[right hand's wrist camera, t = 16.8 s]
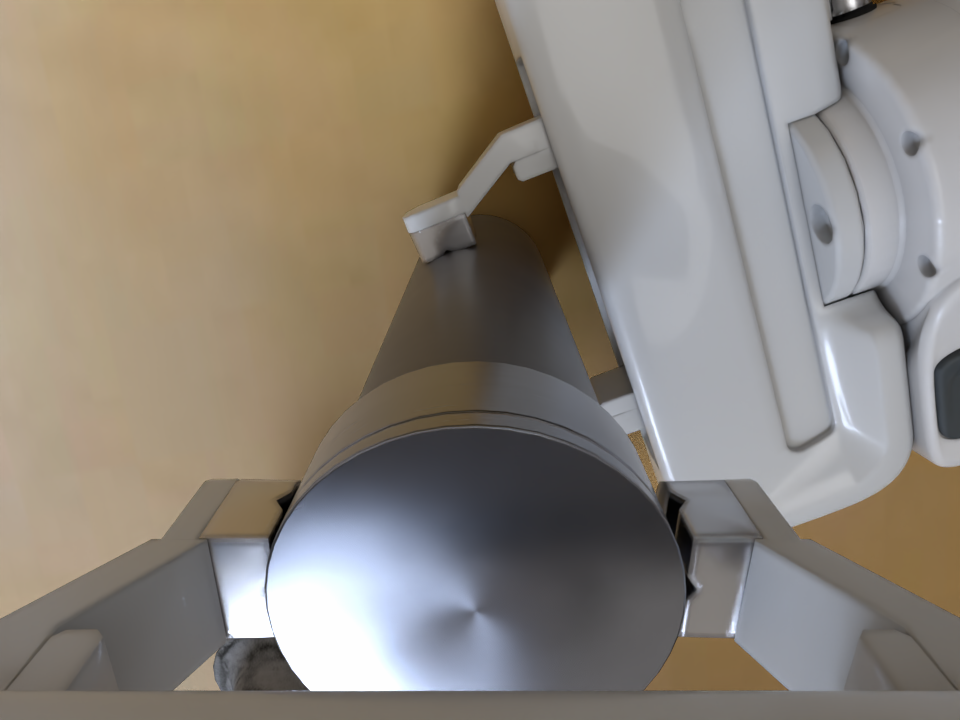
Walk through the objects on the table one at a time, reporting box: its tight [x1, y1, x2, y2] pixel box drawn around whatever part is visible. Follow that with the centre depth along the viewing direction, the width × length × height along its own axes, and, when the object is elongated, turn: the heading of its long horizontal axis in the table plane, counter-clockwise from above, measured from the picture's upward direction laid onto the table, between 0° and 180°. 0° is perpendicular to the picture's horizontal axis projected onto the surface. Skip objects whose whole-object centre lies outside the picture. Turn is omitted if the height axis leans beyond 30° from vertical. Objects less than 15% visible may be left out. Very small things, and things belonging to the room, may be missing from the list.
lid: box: [265, 361, 686, 691], centre depth 9 cm, size 6×6×2 cm
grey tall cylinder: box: [359, 215, 599, 404], centre depth 17 cm, size 5×5×17 cm
